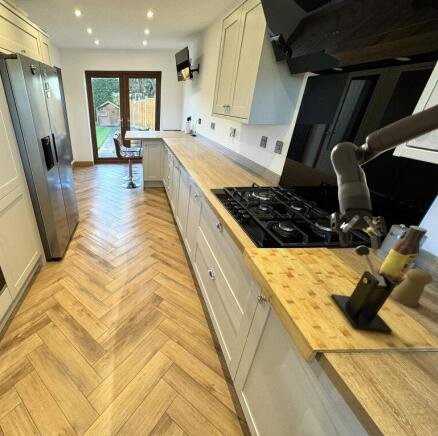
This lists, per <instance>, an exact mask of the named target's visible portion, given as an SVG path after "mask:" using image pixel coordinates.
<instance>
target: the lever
mask: <svg viewBox="0 0 438 436" xmlns="http://www.w3.org/2000/svg"><path fill="white" fill-rule="evenodd" d="M354 251H355V253H356V255H358V256H359V257H361V258H362V260H363V262H364V264H365V266H366V267H365V268H366V270H367V271H369V272H370V273H371V274H372V275H373V276H374V277H375V278H376V279H377V280H378V281H380V283H379V284H378V286H377V287H376V289H383V288H384V287H386V286H387V284H386V282H385V280H384V278H383V276H379V275H378V274H377V272H376V269H375V267H374V265H373V263H372V261H371V259H370V257H369V255H370V254H371V250H370V248H369V247H368V246H365V245H359V246H357V247H356V248H355V250H354Z"/></svg>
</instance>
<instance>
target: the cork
mask: <svg viewBox="0 0 438 436" xmlns="http://www.w3.org/2000/svg"><path fill="white" fill-rule="evenodd" d="M433 280H434V279H433V276H432V274H431V273H429V272H428V271H426V270H423V269H420V268H409V269H408V270H407V272H406V278H405V279H404V280H402V282H401V283H400V284H399V285H398V286H396V287H395V288H394V289H393V291H392V292H391V294H390V296H391V297H392V298H393V299H394V300H396V301H397V302H399V303H401V304H402V305H405V306H409V307H417V305H418V303H419V301H420V299H421V296H422V294H423V292H424V289H425V288H426V285H429V284H431V283H432V282H433Z"/></svg>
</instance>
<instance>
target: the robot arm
mask: <svg viewBox="0 0 438 436" xmlns="http://www.w3.org/2000/svg"><path fill="white" fill-rule="evenodd" d="M436 130H438V103H436V104H435V105H433V106H430V107H428V108H426V109H423V110H420V111H419V112H415V113H413V114H411V115H409V116H406V117H403V118H401V119H399V120H396V121H394V122H392V123H390V124H388V125H386V126H384V127H381V128H380V129H377V130H375V131H373V132H371V133H370V134H368V135H367V136H366V137H365V142H364V143H363V144H362V145H360V146H359V147H358V146H357V145H356V144H355V143H353V142H350V141H344V142H340V143H337V145H335V146H334V147H333V149H332V150H331V154H330V160H331V163H332V166H333V170H334V172H335V174H336V177H337V187H338V192H337V193H338V202H339V211H340V212H339V211H336V212H334V213H332V214H330V231H331V232H332V233H336V234H338V239H339V240H338V241H339V243H340V244H341V246H342V247H347V246H349V245H350V240H349V233H348V231H349V230H350V229H353V230H355V229H356V230H362V231H363V232H364V233H366V234H368V236H370V244H371V249H372V250H374V251H375V250H380V249H381V248H382V245H383V244H382V240H381V239H382V238H381V237H384V236H387V235H388V233H389V232H388V229H387V224H386V220H385V217H384V216H383V215H380V216H373V215H372V210H373V209H372V208H373V207H372V201H371V196H370V189H369V187H368V185H367V179H366V174H365V172H364V170H363V168H362V167H361V166H362V165H365V164H366V163H368V162H369V161H371V160H373V159H375V158H377V156H379V155H380V154H382V153H384V152H386V151H389V150H392V149H395V148H397V147H399V146H403V145H404V144H406V143H409V142H411V141H413V140H416V139H418V138H420V137H422V136H425V135H427V134H430V133H431V132H434V131H436ZM341 220H342V222H343V223H342V224H341Z"/></svg>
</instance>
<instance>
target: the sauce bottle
mask: <svg viewBox="0 0 438 436" xmlns="http://www.w3.org/2000/svg"><path fill="white" fill-rule="evenodd" d="M407 229H408V230H407V232H406V234H405V235H404V237H402V238H401V239H398V240H397V241H396V242H395V243H394V245H393V246H392V247H391V249H390V251H389V252H388V254H387V256H386V257H385V259H384V261H383V263H382V264H381V266H380V268H379V269H378V273H379V274H380V273H385V274H386V275H387V276H388V277H389V278H391V279H392V280H393V281H394V282H396V281H397V282H399V281H401V280H402V278H404V276H405V275H406V274H407V272H408V271H409V270H410V268H411V266H412V265H413V263H414V262H415V260H416V259H417V257H418V255H419V254H420V244H421V241H422V239H423V237H424V236H425V235H426V234H427V232H428V229H426V228H425V227H424V228H423V227H421V226H418V225H409V228H407Z"/></svg>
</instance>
